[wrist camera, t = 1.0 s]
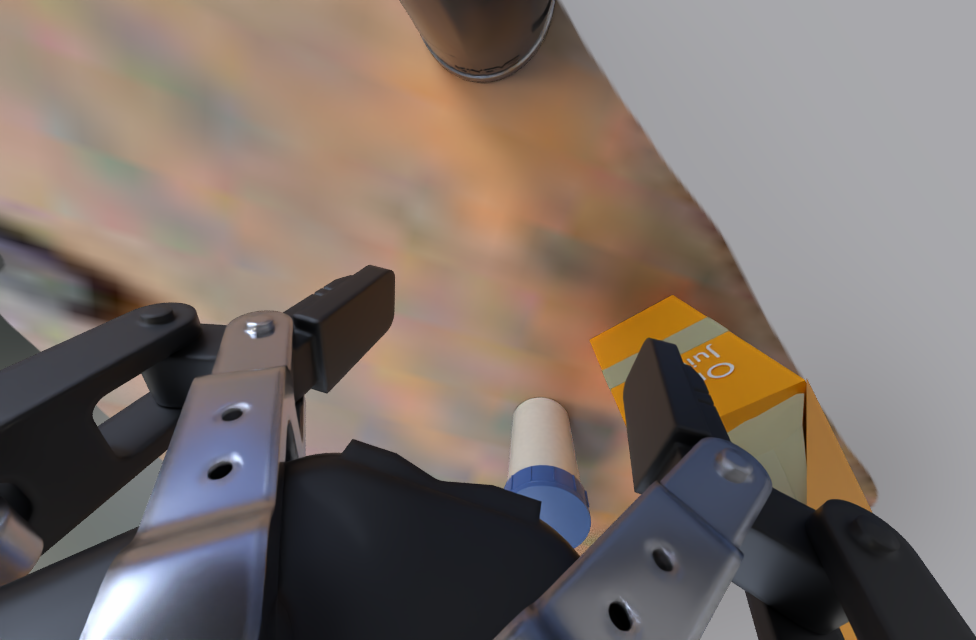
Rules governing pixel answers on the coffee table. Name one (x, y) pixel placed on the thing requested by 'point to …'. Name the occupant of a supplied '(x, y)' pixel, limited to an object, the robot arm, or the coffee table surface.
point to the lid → (556, 499)
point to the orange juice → (743, 401)
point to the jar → (541, 437)
